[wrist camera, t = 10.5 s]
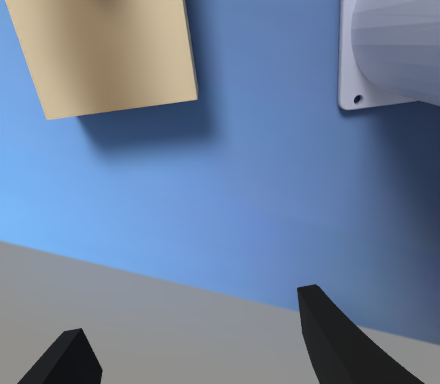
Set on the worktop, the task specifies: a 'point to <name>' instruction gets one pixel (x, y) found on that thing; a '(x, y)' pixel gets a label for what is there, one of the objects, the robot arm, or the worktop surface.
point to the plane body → (106, 53)
